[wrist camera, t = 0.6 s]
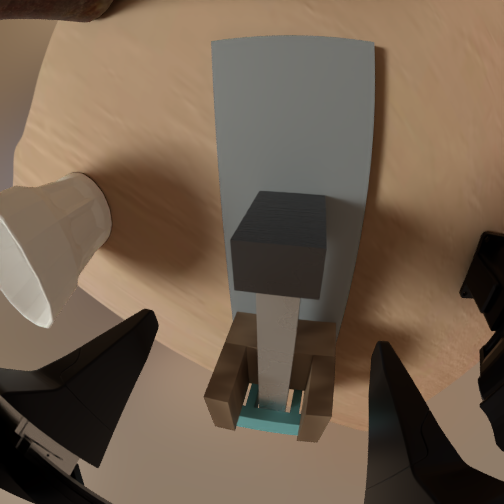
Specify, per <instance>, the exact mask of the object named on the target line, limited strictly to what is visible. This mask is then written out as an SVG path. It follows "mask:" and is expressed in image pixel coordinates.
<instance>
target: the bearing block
mask: <svg viewBox="0 0 504 504" xmlns="http://www.w3.org/2000/svg"><path fill="white" fill-rule="evenodd" d="M335 351H336V323H332V322H321V321H311V320H301V319H299V320H298V328H297V336H296V344H295V352H294V359H293V366H292V373H291V380H290V387H289V389H294V390H303V391H305V392H304V399H303V405H302V412H301V418H300V424H299V430H298V436H297V441H307V442H318V440H319V439H320V437H321V435H322V433H323V432H324V430H325V428H326V426H327V424H328V423H329V421H330V419H331V417H332V406H333V393H334V376H335ZM249 383H253V384H259V382H258V348H257V314H252V313H245V312H238V311H237V313H236V315H235V318H234V320H233V323H232V326H231V328H230V331H229V333H228V336H227V338H226V341H225V344H224V346H223V349H222V351H221V354H220V356H219V359H218V361H217V364H216V367H215V369H214V372H213V374H212V377H211V379H210V382H209V384H208V387H207V389H206V392H205V395H204V399H205V402H206V404H207V407H208V410H209V412H210V415H211V417H212V420H213V422H214V424H215V426H217V427H221V428H225V429H230V430H234V431H235V429H236V426H237V422H238V419H239V416H240V413H241V409H242V406H243V402H244V399H245V395H246V392H247V389H248V385H249Z"/></svg>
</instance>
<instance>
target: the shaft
mask: <svg viewBox="0 0 504 504" xmlns="http://www.w3.org/2000/svg"><path fill="white" fill-rule="evenodd" d="M230 246H231V258H232V270H233V281H234V290H236V291H244V292H252V293H256V314H257V348H258V382H259V408H260V409H266V410H273V411H280V412H285V411H286V405H287V399H288V393H289V387H290V380H291V373H292V366H293V359H294V352H295V344H296V336H297V328H298V320H299V311H300V302H301V298H305V299H314V300H319V299H320V293H321V286H322V279H323V272H324V265H325V258H326V250H327V237H326V201H325V195H315V194H303V193H289V192H272V191H259V192H258V194H257V196H256V197H255V199H254V201H253V202H252V204H251V206H250V207H249V209H248V211H247V212H246V214H245V216H244V217H243V219H242V221H241V222H240V224H239V226H238V227H237V229H236V231H235V233H234V234H233V236H232V238H231V239H230Z"/></svg>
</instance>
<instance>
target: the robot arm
mask: <svg viewBox="0 0 504 504" xmlns="http://www.w3.org/2000/svg"><path fill="white" fill-rule="evenodd" d="M486 237H487V239H486V240H485V238H486ZM464 292H465V293H464ZM459 294H460V296H461V297H462V298H473V299H474V300H475V302H476V304H477V306H478V308H479V310H480V312H481V313H483V314H484V317H485V319H486V321H487V323H488V325H489V328H490V330H491V331H496V332H495V333H494V335H493V336H492V337H491V338H490V340H489V341H488V342H487V343H486V344H485V345H484V346H483V347H482V348H481V349H480V351H479V352H480V377H479V378H478V385H479V391H480V394H481V397H482V400H483V402H481V403H480V408H481V409H482V410H483V411H484V412H485V414H486V415H487V417H488V419H489V421H490V423H491V426H492V429H493V432H494V436H495V441H496V444H497V446H498V447H499V448H500V449H501V450H502V451H504V235H502V234H497V233H492V232H484V233H483V234H482V235H481V238H480V241H479V244H478V247H477V249H476V252H475V255H474V258H473V260H472V263H471V265H470V268H469V270H468V273H467V275H466V278H465V280H464V282H463V285H462V287H461V289H460V292H459ZM158 327H159V325H158V321H157V318H156V316H155V313H154V311H153V310H149V309H143V310H141V311H139V312H138V313H136V314H134V315H133V316H131V317H129V318H128V319H126V320H124V321H123V322H121V323H119V324H118V325H116V326H115V327H113V328H111V329H109V330H108V331H106V332H105V333H103V334H101V335H100V336H98V337H96V338H95V339H93V340H91V341H90V342H88V343H86V344H85V345H83V346H82V347H80V348H78V349H76V350H75V351H73V352H71V353H70V354H68V355H66V356H64V357H62V358H60V359H58V360H56V361H54V362H52V363H50V364H48V365H46V366H44V367H42V368H40V369H38V370H34V371H22V370H13V369H4V368H0V488H1V489H3V490H5V491H7V492H9V493H12V494H14V495H16V496H18V497H20V498H23V499H25V500H27V501H30V502H32V503H35V504H112V503H111V502H109V501H107V500H105V499H104V498H102V497H100V496H99V495H97V494H96V493H94V492H93V491H91V490H89V489H88V488H87V487H85V486H84V483H83V479H82V476H81V472H80V469H79V465H78V464H77V462H78V460H79V458H81V459H83V460H84V461H86V462H88V463H89V464H91V465H93V466H95V467H96V468H99V466H100V463H101V461H102V459H103V456H104V454H105V451H106V449H107V446H108V444H109V442H110V439H111V437H112V435H113V432H114V430H115V428H116V425H117V423H118V421H119V418H120V416H121V414H122V412H123V410H124V407H125V405H126V403H127V401H128V398H129V396H130V394H131V392H132V389H133V388H134V385H135V383H136V381H137V379H138V377H139V375H140V373H141V371H142V369H143V366H144V364H145V362H146V360H147V358H148V355H149V353H150V350H151V347H152V344H153V341H154V339H155V336H156V333H157V331H158ZM364 504H504V481H501V480H498V479H496V478H494V477H492V476H489V475H487V474H485V473H483V472H480V471H478V470H476V469H474V468H472V467H470V466H469V465H467V464H466V463H465V462H464V461H463V460H462V459H461V457H460V456H459V454H458V453H457V451H456V450H455V448H454V447H453V446H452V444H451V443H450V441H449V440H448V438H447V437H446V436H445V434H444V432H443V431H442V430H441V428H440V426H439V425H438V423H437V421H436V420H435V418H434V416H433V414H432V413H431V411H430V410H429V407H428V406H427V404H426V402H425V400H424V399H423V397H422V395H421V393H420V392H419V390H418V388H417V387H416V385H415V383H414V382H413V380H412V378H411V377H410V375H409V373H408V372H407V370H406V369H405V367H404V365H403V364H402V362H401V360H400V359H399V357H398V356H397V354H396V353H395V351H394V349H393V348H392V346H391V345H390V343H389V342H387V341H378V342H377V344H376V346H375V349H374V351H373V354H372V357H371V371H370V384H369V443H368V465H367V480H366V491H365V499H364Z"/></svg>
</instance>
